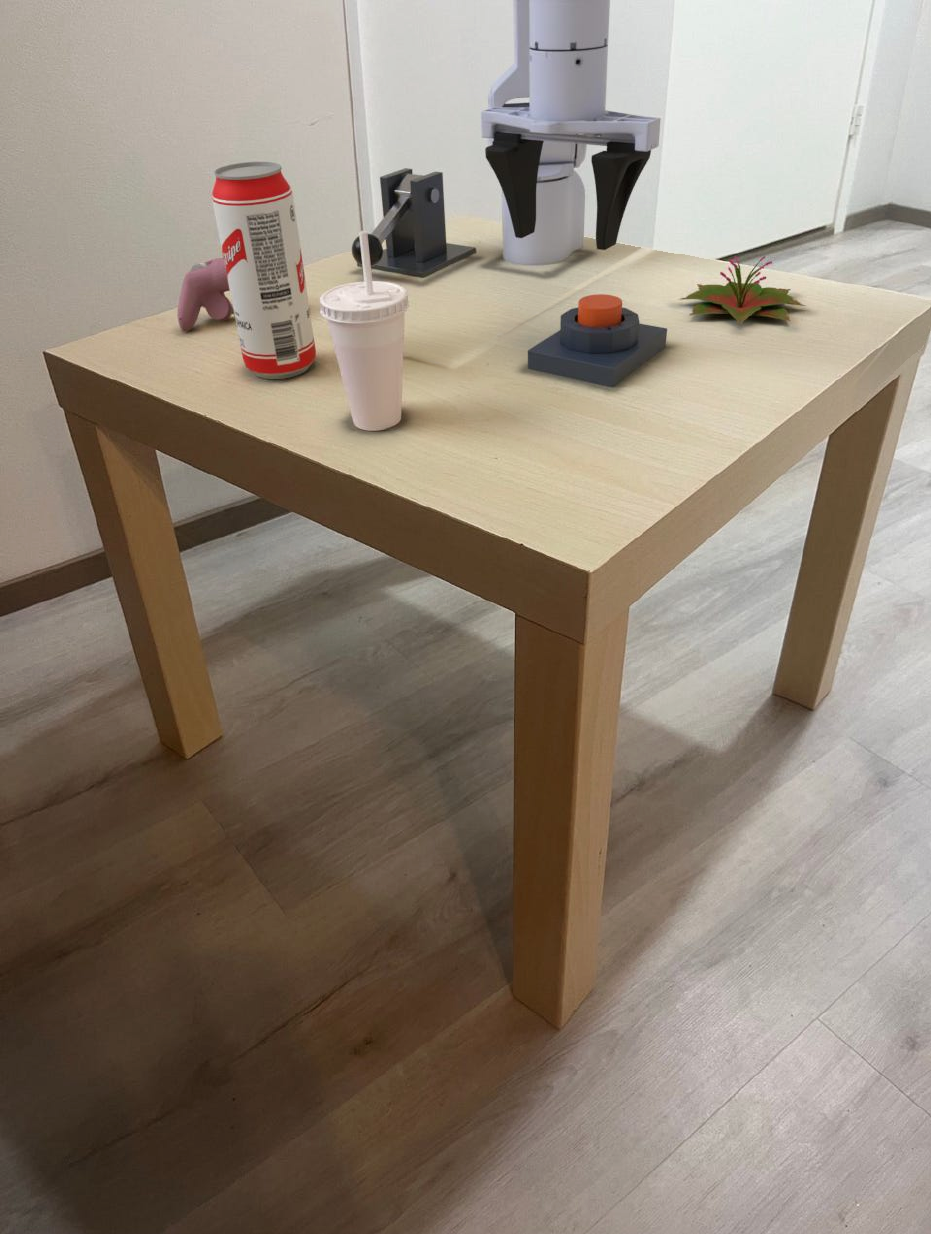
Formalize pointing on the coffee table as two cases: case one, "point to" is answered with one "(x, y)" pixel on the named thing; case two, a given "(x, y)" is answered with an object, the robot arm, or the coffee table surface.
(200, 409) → the coffee table surface
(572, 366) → the button box
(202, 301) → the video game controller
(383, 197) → the bracket
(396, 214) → the lever
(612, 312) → the button
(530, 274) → the coffee table surface
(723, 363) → the coffee table surface
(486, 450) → the coffee table surface
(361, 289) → the smoothie
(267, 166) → the beer can
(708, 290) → the lily flower
